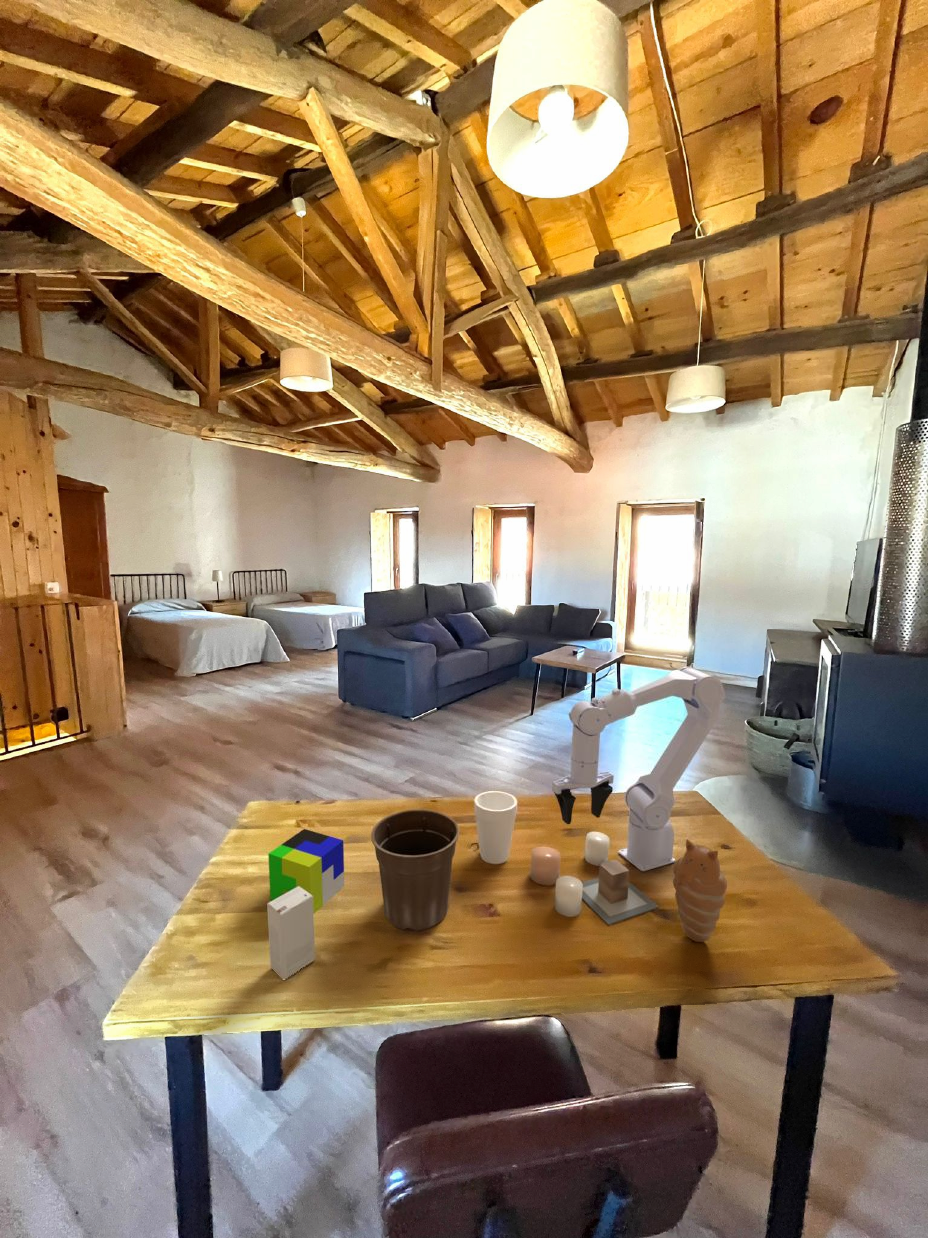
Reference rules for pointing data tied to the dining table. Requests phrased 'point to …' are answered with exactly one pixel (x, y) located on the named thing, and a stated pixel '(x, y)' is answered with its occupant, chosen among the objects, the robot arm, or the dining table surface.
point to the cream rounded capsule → (568, 896)
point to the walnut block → (613, 881)
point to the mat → (618, 910)
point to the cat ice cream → (699, 890)
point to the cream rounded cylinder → (596, 848)
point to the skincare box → (291, 932)
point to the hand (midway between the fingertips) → (581, 818)
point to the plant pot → (415, 866)
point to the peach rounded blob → (545, 865)
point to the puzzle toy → (308, 866)
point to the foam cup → (495, 824)
